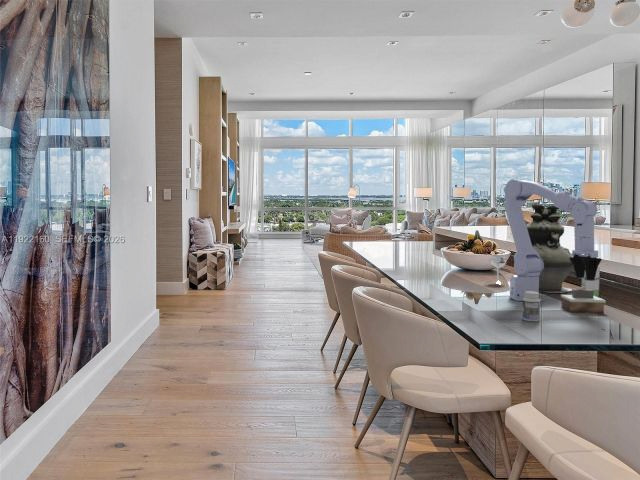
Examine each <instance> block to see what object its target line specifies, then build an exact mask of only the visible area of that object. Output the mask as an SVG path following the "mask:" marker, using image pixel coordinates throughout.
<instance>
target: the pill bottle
mask: <svg viewBox="0 0 640 480" xmlns="http://www.w3.org/2000/svg"><path fill="white" fill-rule="evenodd" d="M538 298H539V299H538ZM540 299H541V298H540V292H535V291H525V298H524V299H523V301H522V320H524V321H526V322H538V321H540V315H541V314H540V313H541V312H540V311H541V301H540Z"/></svg>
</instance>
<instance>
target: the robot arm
mask: <svg viewBox="0 0 640 480" xmlns="http://www.w3.org/2000/svg"><path fill="white" fill-rule="evenodd" d="M503 192H504V209H505V214H506V217H507V220H508V223H509V228H510V231H511V235H512V238H513V241H514V246H515V249H516V252H515V254H514V255H513V260H514V261H513V262H514V263H513V268H514V271H515V272H516V274H513V275H511V276H510V281H509V282H510V283H509V298H510V299H513V300H514V301H519V302H523V299H524V298H525V291H535V292H539V275H540V272H541V271H542V270H543V268H544V263H543V261H542V259H541V258H540V257H539V254H538V252H537V251H536V250H535V249H534V248H533V247H532V244H531V240H530V237H529V233H528V230H527V226H526V225H527V224H526V220H525V215H524V214H523V209H522V207H523V205H524V203H525V202H527V201H528V200H529V199H530V198H531V197H532V196H533V195H536V196H539V197H540V198H543V199H545V200H548V201H550V202H552V203H553V206H555V207H557V208H559V209H558V210H562V211H564V212H566V213H568V214H570V215H571V217H572V218H573V227H574V229H573V231H574V249H572V250H571V251H572V254H571V257H569V259H570V261H571V262H572V264H573V265H572V267H573V269H574V270H573V271H574V273H575V277H576V278H577V279H579V278H580V279H582V278H584V274H585V273H586V278H587V280H594V279H595V275H596V271H597V268H598V266H599V265H600V263H601V262H602V261H603V260H602V258H599V250H595V222H594V221H595V219H594V217H595V216H596V214H597V212H598V206H597V205H596V204H595V203H594V202H593V201H592V200H583V197H580V196H579V197H577V196H575V195H573V194H571V191H567V190H565V191H564V190H563V191H560V192H557V191H555V190H553V189H551V188H549V187H547V186H545V185H543V184H540V183H538V182H536V181H532V180H529V179H523V180H522V179H514V178H513V179H510V180H508V181H507V183H506V184H505V186H504V188H503ZM599 267H600V266H599ZM539 293H540V292H539ZM538 299H540V302H543V299H541V298H540V297H539V298H538Z"/></svg>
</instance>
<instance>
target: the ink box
mask: <svg viewBox="0 0 640 480" xmlns="http://www.w3.org/2000/svg"><path fill="white" fill-rule="evenodd" d="M600 268H601V267H600V266H598V268H597V271H596V275H595V279H594V280H587V278H586V273H585V274H584V278H581V289H585V290H593V291H594V294H593V296H596V297H599V296H600V273H601V272H600Z"/></svg>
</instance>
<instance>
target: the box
mask: <svg viewBox="0 0 640 480" xmlns="http://www.w3.org/2000/svg"><path fill="white" fill-rule="evenodd" d="M561 308H562V309H564V310H566V311H569V312H571V313H586V312H589V314H591V313H592V314H596V313H597V314H604V313H605V312H604V310H605V303H597V302H570V301H568V300H566V299H564V298H562V297H561Z"/></svg>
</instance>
